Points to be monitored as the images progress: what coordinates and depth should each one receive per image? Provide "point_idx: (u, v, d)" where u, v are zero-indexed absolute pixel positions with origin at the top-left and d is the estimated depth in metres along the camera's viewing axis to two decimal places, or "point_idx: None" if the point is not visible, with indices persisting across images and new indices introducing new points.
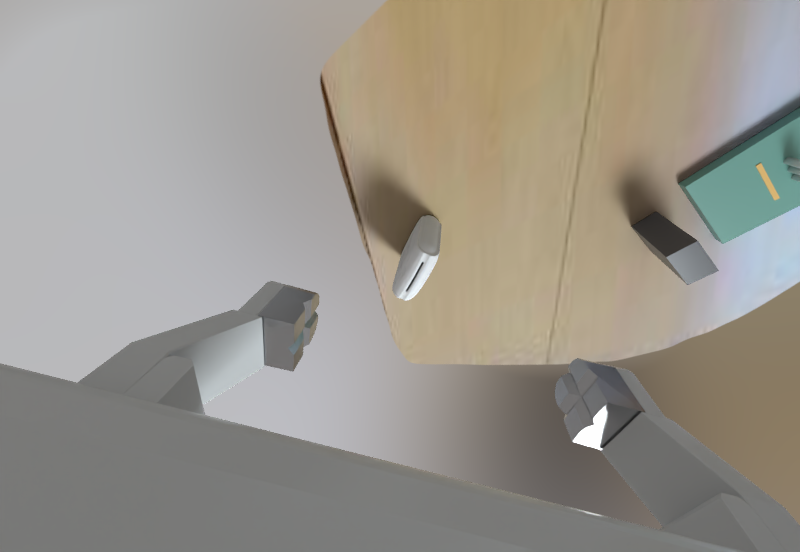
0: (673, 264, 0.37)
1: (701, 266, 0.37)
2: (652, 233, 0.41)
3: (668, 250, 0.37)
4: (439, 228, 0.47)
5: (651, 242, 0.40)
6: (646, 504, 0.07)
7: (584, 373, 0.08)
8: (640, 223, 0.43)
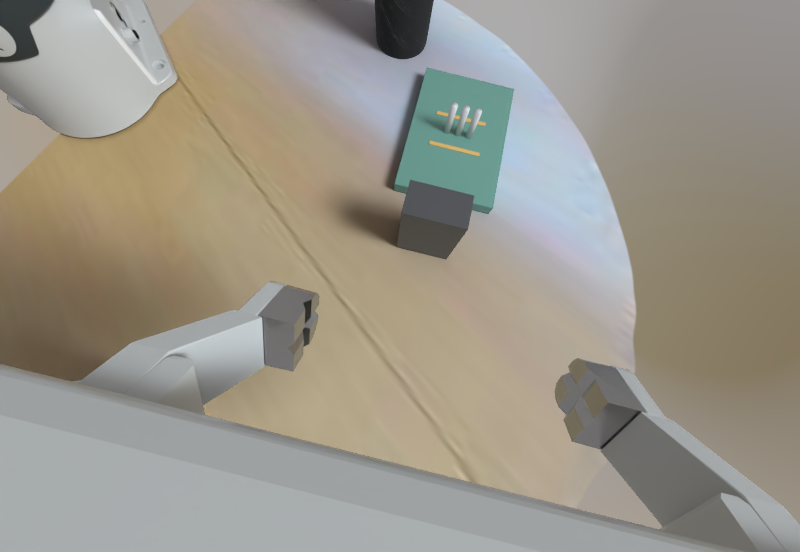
0: (419, 216, 0.25)
1: (451, 201, 0.26)
2: None
3: None
4: None
5: None
6: (646, 504, 0.07)
7: (584, 373, 0.08)
8: None
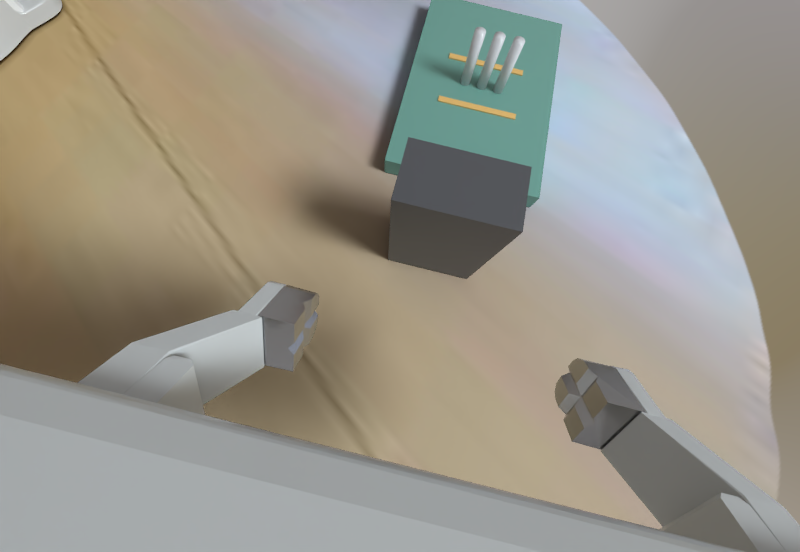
0: (427, 206, 0.13)
1: (488, 177, 0.13)
2: None
3: None
4: None
5: (390, 230, 0.17)
6: (646, 504, 0.07)
7: (584, 373, 0.08)
8: None
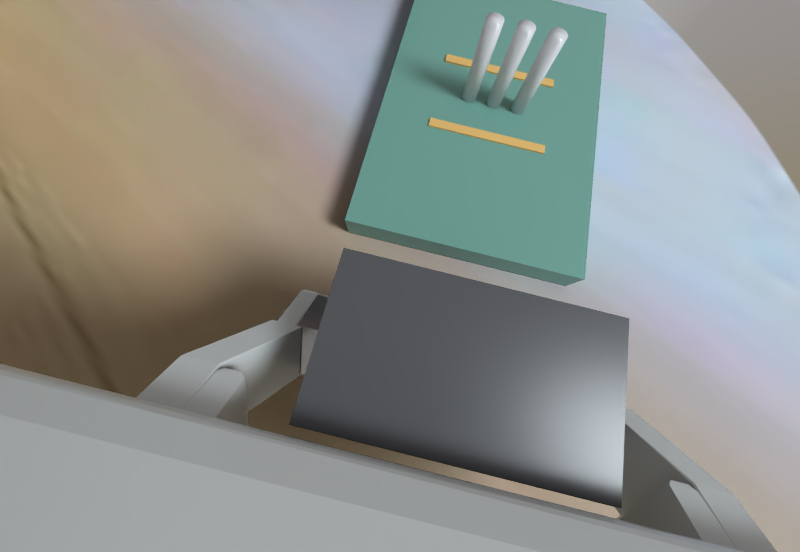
0: (380, 438, 0.05)
1: (529, 351, 0.06)
2: None
3: None
4: None
5: None
6: None
7: None
8: None
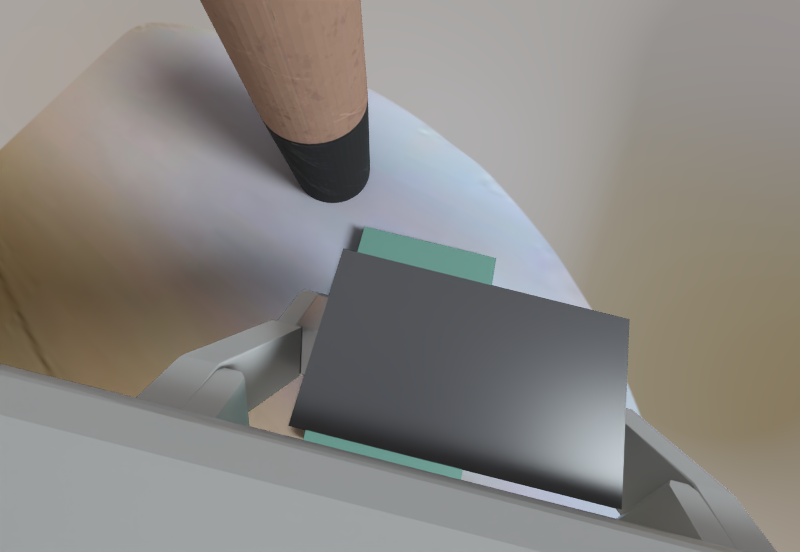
0: (380, 439, 0.05)
1: (529, 351, 0.06)
2: None
3: None
4: None
5: None
6: None
7: None
8: None
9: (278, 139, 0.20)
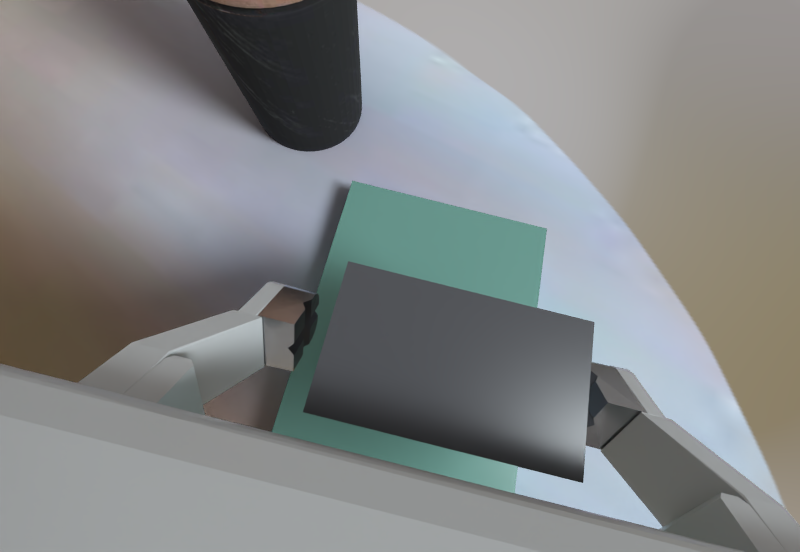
0: (380, 424, 0.06)
1: (507, 350, 0.07)
2: None
3: None
4: None
5: None
6: (646, 504, 0.07)
7: None
8: None
9: (199, 8, 0.12)
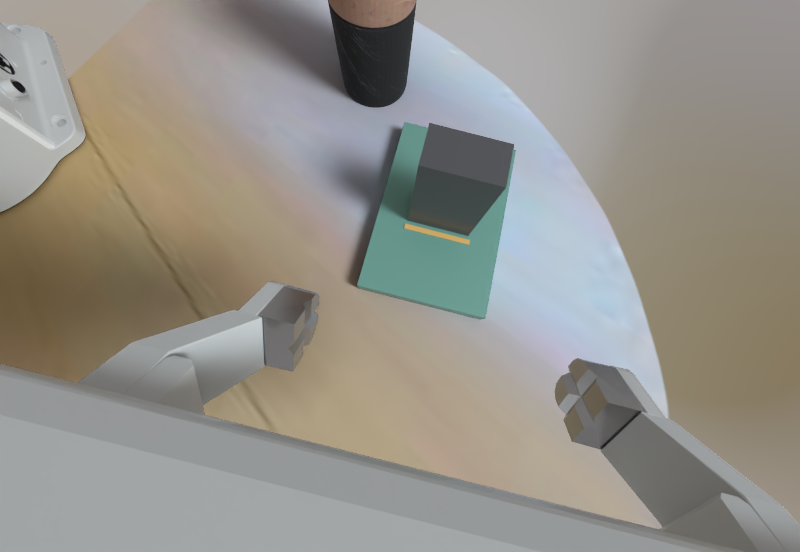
0: (442, 169, 0.19)
1: (483, 151, 0.20)
2: None
3: None
4: None
5: (413, 191, 0.23)
6: (646, 504, 0.07)
7: (584, 373, 0.08)
8: None
9: (344, 26, 0.25)
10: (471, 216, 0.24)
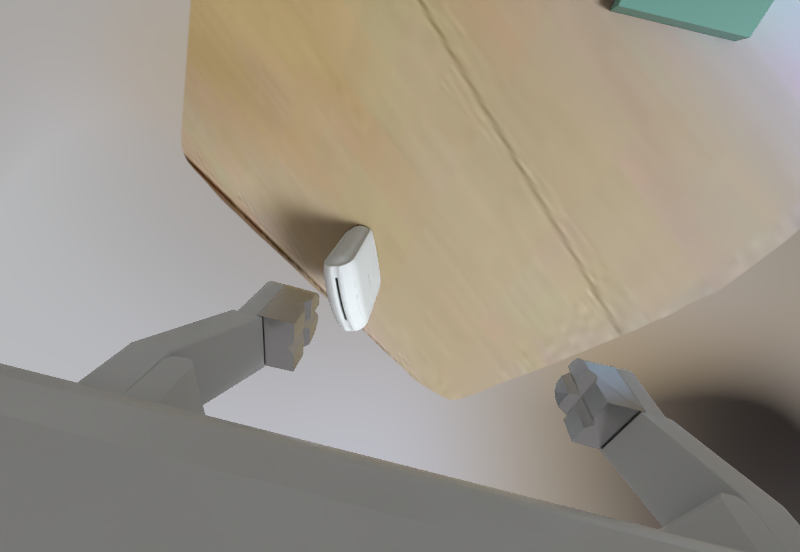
0: None
1: None
2: None
3: None
4: (365, 234, 0.39)
5: None
6: (646, 504, 0.07)
7: (584, 373, 0.08)
8: None
9: None
10: None
